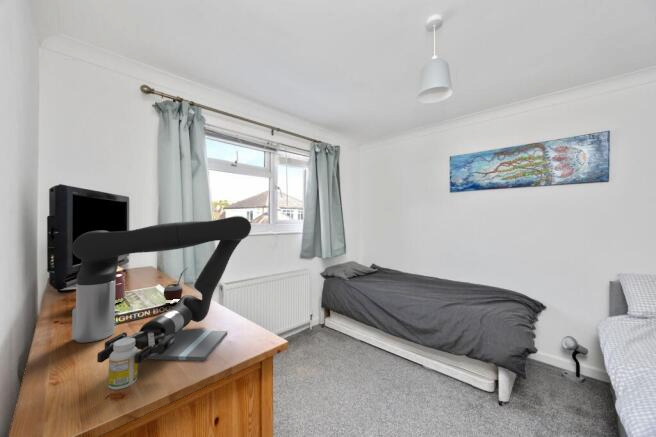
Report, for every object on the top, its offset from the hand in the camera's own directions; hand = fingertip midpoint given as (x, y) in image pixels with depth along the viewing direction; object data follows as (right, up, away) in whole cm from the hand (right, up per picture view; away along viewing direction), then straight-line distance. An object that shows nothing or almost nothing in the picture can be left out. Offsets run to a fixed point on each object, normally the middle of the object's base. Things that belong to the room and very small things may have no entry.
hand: (117, 359), depth 59 cm
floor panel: (+5, -6, +20) cm, 21 cm away
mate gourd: (-20, -6, +56) cm, 60 cm away
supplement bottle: (0, -7, +2) cm, 7 cm away
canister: (-48, -5, +54) cm, 73 cm away
